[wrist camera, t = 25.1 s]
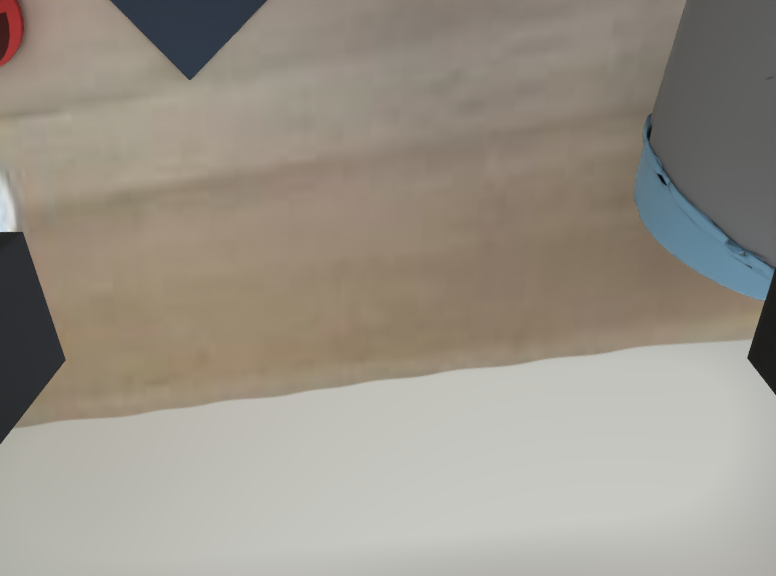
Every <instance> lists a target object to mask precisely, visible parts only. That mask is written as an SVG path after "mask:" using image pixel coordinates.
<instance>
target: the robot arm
mask: <svg viewBox="0 0 776 576" xmlns="http://www.w3.org/2000/svg"><path fill="white" fill-rule="evenodd" d="M643 143H644V146H643V150H642V154H641V158H640V162H639V166H638V170H637V174H636V178H635V182H634V201H635V203H636V205H637V207H638V211H639V215H640V218H641V220H642V222H643V224H644V225H645V227H646V228H647V230H648V231H649V232H650V233H651V235H652V236H653V237H654V238H655V239H656V240H657V241H658V242H659V243H660V244H661V245H662V246H663V247H664V248H665V249H666V250H667V251H668V252H670V253H671V254H672V255H673V256H675V257H676V258H677V259H679V260H680V261H682V262H683V263H684V264H686V265H687V266H689V267H690V268H692V269H694V270H695V271H697V272H698V273H700V274H702V275H703V276H705V277H707V278H709V279H711V280H713V281H714V282H716V283H718V284H720V285H722V286H724V287H727V288H729V289H731V290H733V291H736V292H738V293H741V294H743V295H746V296H749V297H752V298H755V299H758V300H761V301H762V300H765V299H766V300H765V303H764V306H763V309H762V312H761V316H760V319H759V322H758V325H757V328H756V332H755V335H754V338H753V341H752V344H751V348H750V351H749V354H748V360H749V361H750V362H751V363H752V365H753V366H754V367H755V369H756V370H757V371H758V373H759V374H760V375H761V376H762V378H763V379H764V380H765V382H766V383H767V384H768V386H769V387H770V388H771V389H772V391H773V392H774V393H775V395H776V0H687V1H686V4H685V7H684V10H683V14H682V17H681V20H680V24H679V27H678V30H677V33H676V37H675V40H674V43H673V46H672V50H671V53H670V56H669V60H668V63H667V66H666V69H665V73H664V76H663V79H662V82H661V86H660V89H659V92H658V96H657V99H656V102H655V105H654V109H653V112H652V113H651V114H650V115H649V116H648V117H647V120H646V123H645V125H644V130H643ZM64 362H65V357H64V354H63V351H62V348H61V345H60V342H59V339H58V336H57V333H56V330H55V327H54V324H53V321H52V318H51V315H50V312H49V309H48V306H47V303H46V300H45V297H44V294H43V291H42V288H41V285H40V282H39V279H38V276H37V273H36V270H35V267H34V264H33V261H32V258H31V255H30V252H29V249H28V246H27V243H26V240H25V237H24V234H23V232H0V444H1V443H2V441H3V440H4V439H5V438H6V436H7V435H8V434H9V432H10V431H11V430H12V429H13V427H14V426H15V425H16V423H17V422H18V421H19V419H20V418H21V417H22V416H23V414H24V413H25V412H26V410H27V409H28V408H29V407H30V405H31V404H32V403H33V401H34V400H35V399H36V398H37V396H38V395H39V394H40V392H41V391H42V390H43V389H44V387H45V386H46V385H47V383H48V382H49V381H50V380H51V378H52V377H53V376H54V374H55V373H56V372H57V371H58V369H59V368H60V367H61V365H62V364H63V363H64Z"/></svg>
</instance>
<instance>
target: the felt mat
mask: <svg viewBox="0 0 776 576" xmlns="http://www.w3.org/2000/svg"><path fill="white" fill-rule="evenodd" d="M111 1H112V2H113V3H114V4H115V5H116V6H117V7H118V8H119V9H120V10H121V11H122V12H123V13H124V14H125V15H126V16H127V17H128V18H129V19H130V20H131V21H132V22H133V23H134V25H135V26H136V27H137V28H138V29H139V30H140V31H141V32H142V33H143V34H144V35H145V36H146V37H147V38H148V39H149V40H150V41H151V42H152V43H153V44H154V45H155V46H156V47H157V48H158V49H159V50H160V51H161V52H162V53H163V54H164V55H165V56H166V57H167V58H168V59H169V60H170V61H171V62H172V63H173V64H174V65H175V66H176V67H177V68H178V69H179V70H180V71H181V72H182V73H183V74H184V75H185V76H186V77H187V78H188V79H189V80H191V79H192V78H193V77H194V76H195V75H196V74H197V73H198V72H199V70H200V69H201V68H202V67H203V66H204V65H205V64H206V63H207V62H208V61H209V60H210V59H211V58H212V57H213V56H214V55H215V54H216V53H217V52H218V51H219V50H220V49H221V47H222V46H223V45H224V44H225V43H226V42H227V41H228V40H229V39H230V38H231V37H232V36H233V35H234V34H235V33H236V32H237V31H238V30H239V29H240V28H241V27H242V26H243V24H244V23H245V22H246V21H247V20H248V19H249V18H250V17H251V16H252V15H253V14H254V13H255V12H256V11H257V10H258V9H259V8H260V7H261V6H262V5H263V4H264V3H265V1H266V0H111Z"/></svg>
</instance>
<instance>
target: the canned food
mask: <svg viewBox="0 0 776 576" xmlns="http://www.w3.org/2000/svg"><path fill="white" fill-rule="evenodd" d="M23 31H24V26H23V16H22V12H21V8H20V6H19V3H18V1H17V0H0V66H2V65H4V64H5V63H6V62H8V61H9V60H10V59H11V58H12V56H13V55H14V54H15V53H16V51H17V50H18V48H19V46H20V43H21V41H22V37H23Z"/></svg>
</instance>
